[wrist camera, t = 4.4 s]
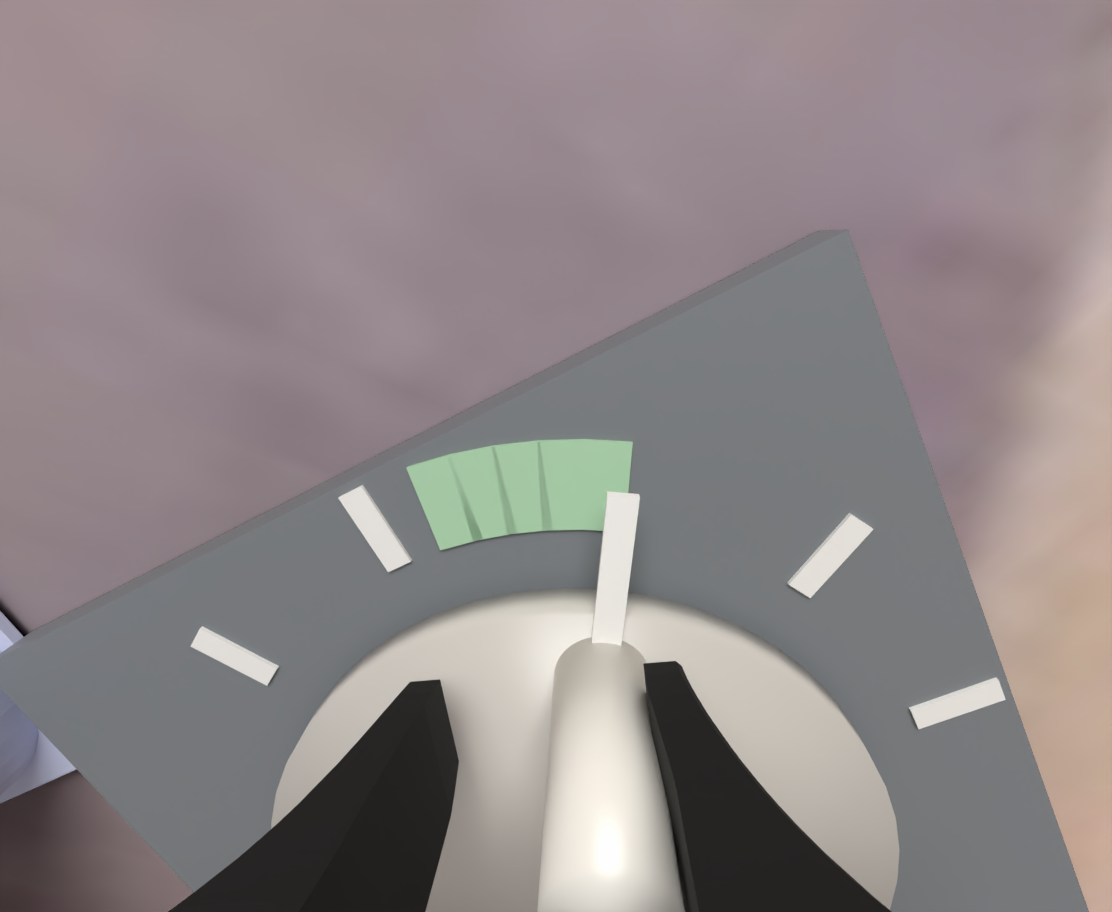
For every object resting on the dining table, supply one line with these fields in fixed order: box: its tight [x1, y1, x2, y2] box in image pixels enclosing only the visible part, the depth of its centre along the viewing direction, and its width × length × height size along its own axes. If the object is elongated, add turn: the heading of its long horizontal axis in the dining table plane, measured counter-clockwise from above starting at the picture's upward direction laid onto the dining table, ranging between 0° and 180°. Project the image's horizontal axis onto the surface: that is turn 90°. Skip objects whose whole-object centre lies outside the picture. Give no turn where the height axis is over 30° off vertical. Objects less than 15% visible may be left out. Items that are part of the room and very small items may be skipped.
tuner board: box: [0, 230, 1089, 912], centre depth 17 cm, size 22×22×2 cm
